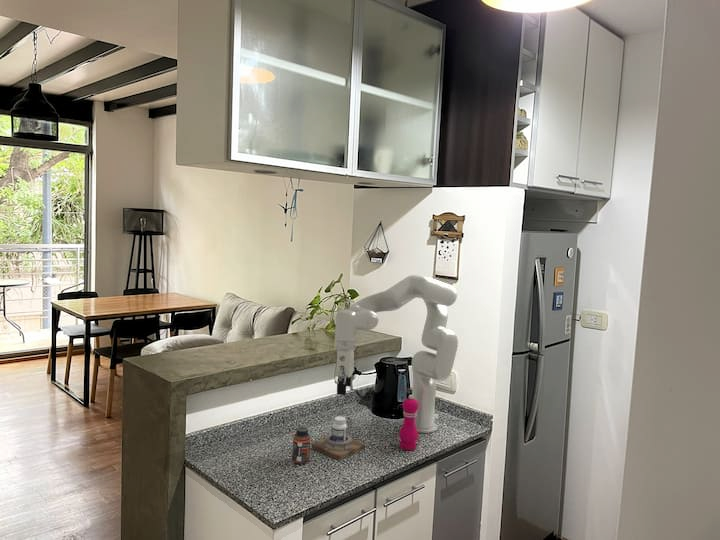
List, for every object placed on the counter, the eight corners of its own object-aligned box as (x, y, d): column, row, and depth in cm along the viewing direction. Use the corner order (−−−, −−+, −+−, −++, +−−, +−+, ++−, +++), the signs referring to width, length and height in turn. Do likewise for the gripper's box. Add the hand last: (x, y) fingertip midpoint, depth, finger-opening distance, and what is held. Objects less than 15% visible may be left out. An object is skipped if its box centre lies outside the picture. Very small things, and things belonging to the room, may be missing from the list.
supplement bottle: (302, 466, 178) (303, 433, 177) (288, 461, 181) (289, 429, 180) (312, 460, 183) (314, 428, 182) (299, 455, 187) (300, 424, 186)
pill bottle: (337, 439, 198) (338, 414, 197) (349, 443, 195) (350, 418, 194) (328, 444, 194) (329, 418, 193) (339, 448, 190) (341, 422, 190)
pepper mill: (416, 451, 194) (419, 398, 193) (396, 449, 196) (400, 396, 194) (418, 444, 202) (421, 392, 200) (399, 441, 203) (402, 390, 201)
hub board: (337, 437, 204) (337, 427, 204) (365, 448, 195) (365, 438, 195) (311, 447, 193) (311, 437, 193) (339, 460, 184) (340, 449, 184)
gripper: (351, 350, 183) (349, 399, 185) (359, 339, 200) (358, 383, 202) (330, 349, 185) (328, 397, 186) (339, 338, 202) (338, 382, 203)
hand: (343, 390), depth 194 cm, fingers open, 9 cm apart
